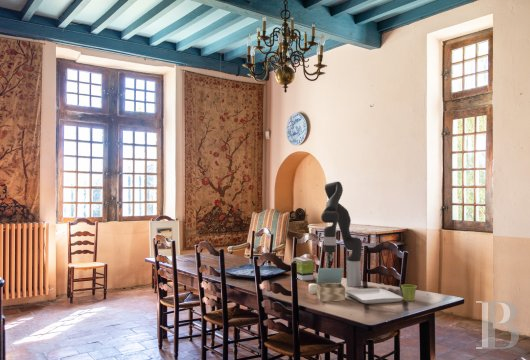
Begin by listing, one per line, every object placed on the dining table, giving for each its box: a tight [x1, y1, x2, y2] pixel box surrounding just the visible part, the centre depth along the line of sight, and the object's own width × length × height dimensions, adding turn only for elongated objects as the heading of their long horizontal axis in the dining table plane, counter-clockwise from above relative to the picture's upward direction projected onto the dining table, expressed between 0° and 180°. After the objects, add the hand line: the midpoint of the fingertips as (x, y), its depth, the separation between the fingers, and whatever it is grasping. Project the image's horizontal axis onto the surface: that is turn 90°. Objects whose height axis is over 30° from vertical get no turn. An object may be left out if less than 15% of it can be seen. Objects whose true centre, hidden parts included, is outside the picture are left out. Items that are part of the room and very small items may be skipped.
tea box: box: [292, 256, 314, 282], centre depth 346 cm, size 15×10×15 cm
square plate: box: [345, 287, 404, 305], centre depth 283 cm, size 27×27×4 cm
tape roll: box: [308, 283, 317, 295], centre depth 298 cm, size 6×6×6 cm
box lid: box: [316, 267, 344, 284], centre depth 285 cm, size 15×13×1 cm
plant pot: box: [400, 283, 418, 302], centre depth 279 cm, size 9×9×9 cm
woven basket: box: [316, 282, 346, 303], centre depth 282 cm, size 15×13×8 cm
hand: (329, 272), depth 284 cm, fingers closed
